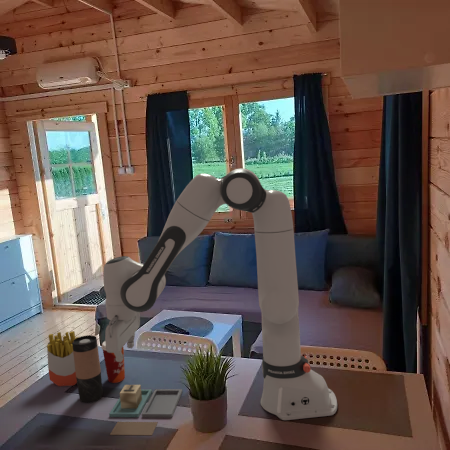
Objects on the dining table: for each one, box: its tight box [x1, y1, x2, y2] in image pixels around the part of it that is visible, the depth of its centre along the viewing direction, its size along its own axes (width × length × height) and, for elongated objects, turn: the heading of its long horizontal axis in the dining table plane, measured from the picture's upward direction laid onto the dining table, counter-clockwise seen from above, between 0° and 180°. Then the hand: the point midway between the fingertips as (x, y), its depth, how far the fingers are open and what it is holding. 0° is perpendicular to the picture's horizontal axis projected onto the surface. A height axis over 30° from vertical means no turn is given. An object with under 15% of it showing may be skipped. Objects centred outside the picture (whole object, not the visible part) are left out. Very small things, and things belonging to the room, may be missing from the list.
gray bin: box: [141, 388, 183, 419], centre depth 136 cm, size 9×14×2 cm, turn 173°
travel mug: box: [72, 334, 104, 404], centre depth 142 cm, size 8×8×20 cm
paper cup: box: [101, 340, 126, 384], centre depth 154 cm, size 8×8×14 cm
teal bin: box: [108, 388, 153, 418], centre depth 137 cm, size 9×14×2 cm, turn 173°
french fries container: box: [46, 330, 79, 387], centre depth 154 cm, size 5×11×18 cm, turn 88°
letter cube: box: [119, 384, 142, 409], centre depth 137 cm, size 5×5×5 cm
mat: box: [109, 421, 159, 437], centre depth 125 cm, size 12×6×1 cm, turn 83°
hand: (125, 353), depth 135 cm, fingers open, 8 cm apart
